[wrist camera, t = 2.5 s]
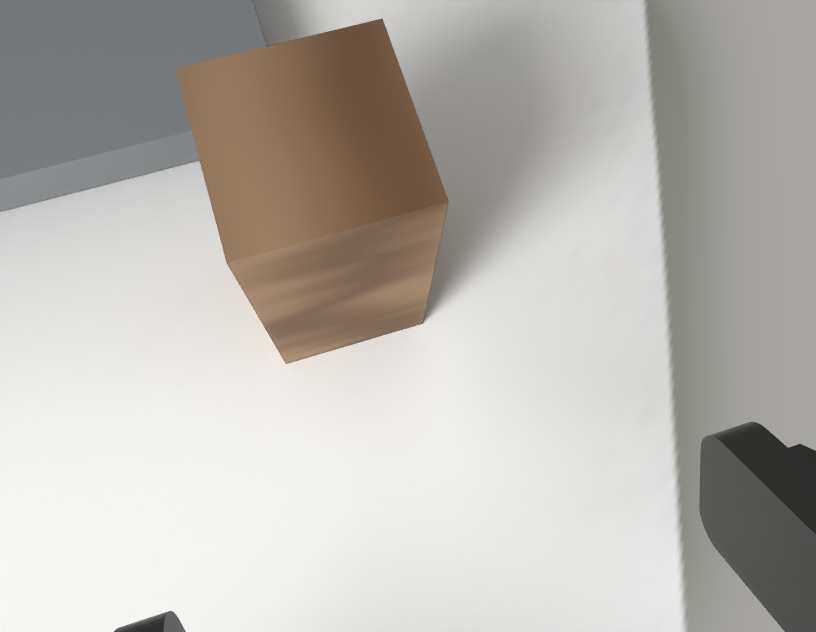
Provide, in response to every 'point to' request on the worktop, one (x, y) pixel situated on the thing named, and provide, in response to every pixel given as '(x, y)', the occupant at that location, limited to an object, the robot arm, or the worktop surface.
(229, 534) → the worktop surface
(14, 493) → the worktop surface
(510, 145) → the worktop surface
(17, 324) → the worktop surface
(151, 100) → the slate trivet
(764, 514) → the robot arm
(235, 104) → the walnut block
